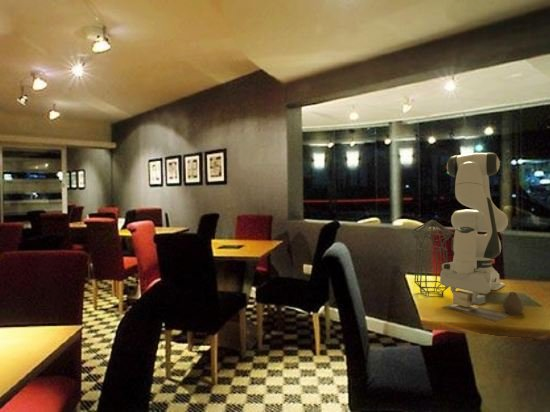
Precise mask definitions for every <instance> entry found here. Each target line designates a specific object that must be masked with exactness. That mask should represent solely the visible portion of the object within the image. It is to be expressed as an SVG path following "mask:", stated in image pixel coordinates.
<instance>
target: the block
mask: <svg viewBox="0 0 550 412" xmlns="http://www.w3.org/2000/svg"><path fill="white" fill-rule="evenodd" d="M473 295H474V294H473V292H472V291H467V290H463V289H457V290H456V291H454V292H453V293H452V298H453V299H452V304H457V305H461V306H465V307H469V306H472V305H473V306H476V304H475V303H473V302H470V298H471V297H473Z"/></svg>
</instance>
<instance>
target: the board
mask: <svg viewBox="0 0 550 412" xmlns="http://www.w3.org/2000/svg"><path fill="white" fill-rule="evenodd" d="M441 308H443V309H447V310H451V311H453V312H458V313H462V314H465V315H468V316H471V317H476V318H480V319H484V320H488V321H492V322H495V323H496V322H498V321H501V320H503V319H504V320H505V319H507V318H509V317H512V316H513V315H514V314H509V313H506V312H503V311H497V310H493V309H489V308H486V307H482V306H481V307H480V306H476V305H472V306H469V307H465V306H461V305H457V304H453V303H452V304H449V305H448V304H447V305H445V306H441Z"/></svg>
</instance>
